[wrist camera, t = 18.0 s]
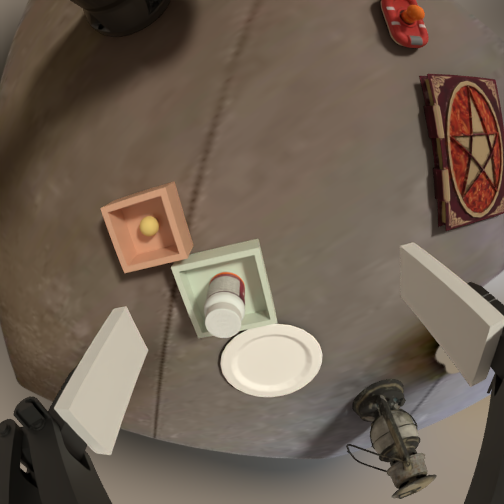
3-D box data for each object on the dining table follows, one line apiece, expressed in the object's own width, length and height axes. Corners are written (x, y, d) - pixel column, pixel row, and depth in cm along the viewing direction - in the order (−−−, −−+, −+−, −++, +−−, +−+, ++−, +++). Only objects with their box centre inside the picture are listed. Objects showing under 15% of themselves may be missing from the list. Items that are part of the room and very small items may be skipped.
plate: (211, 382, 61) (210, 388, 60) (235, 308, 54) (235, 313, 52) (298, 397, 64) (299, 402, 62) (337, 330, 57) (339, 335, 55)
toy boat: (405, -3, 32) (425, -17, 25) (424, 50, 36) (448, 42, 29) (371, -6, 33) (388, -23, 26) (390, 49, 37) (412, 39, 30)
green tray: (176, 257, 50) (170, 267, 46) (258, 238, 49) (259, 247, 45) (201, 325, 55) (198, 338, 51) (275, 310, 54) (277, 323, 50)
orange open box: (114, 200, 46) (100, 208, 40) (174, 181, 45) (165, 187, 40) (135, 259, 50) (124, 273, 44) (193, 245, 49) (187, 258, 44)
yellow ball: (140, 216, 46) (133, 222, 43) (157, 211, 46) (152, 216, 43) (146, 234, 47) (140, 241, 44) (163, 230, 47) (158, 236, 44)
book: (499, 208, 48) (513, 214, 44) (433, 226, 49) (448, 234, 45) (486, 80, 38) (502, 79, 33) (413, 76, 39) (429, 72, 34)
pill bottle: (241, 303, 52) (241, 344, 42) (207, 298, 52) (198, 337, 41) (248, 273, 50) (249, 309, 40) (211, 266, 50) (203, 302, 39)
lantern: (406, 403, 67) (444, 485, 40) (345, 430, 70) (369, 518, 42) (399, 365, 61) (450, 463, 33) (327, 398, 64) (355, 506, 36)
